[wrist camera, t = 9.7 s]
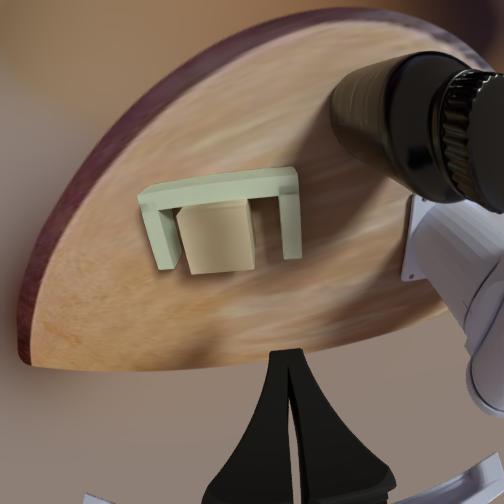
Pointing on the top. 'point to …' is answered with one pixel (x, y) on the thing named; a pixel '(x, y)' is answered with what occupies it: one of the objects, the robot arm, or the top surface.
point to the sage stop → (218, 190)
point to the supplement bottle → (427, 126)
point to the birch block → (218, 236)
